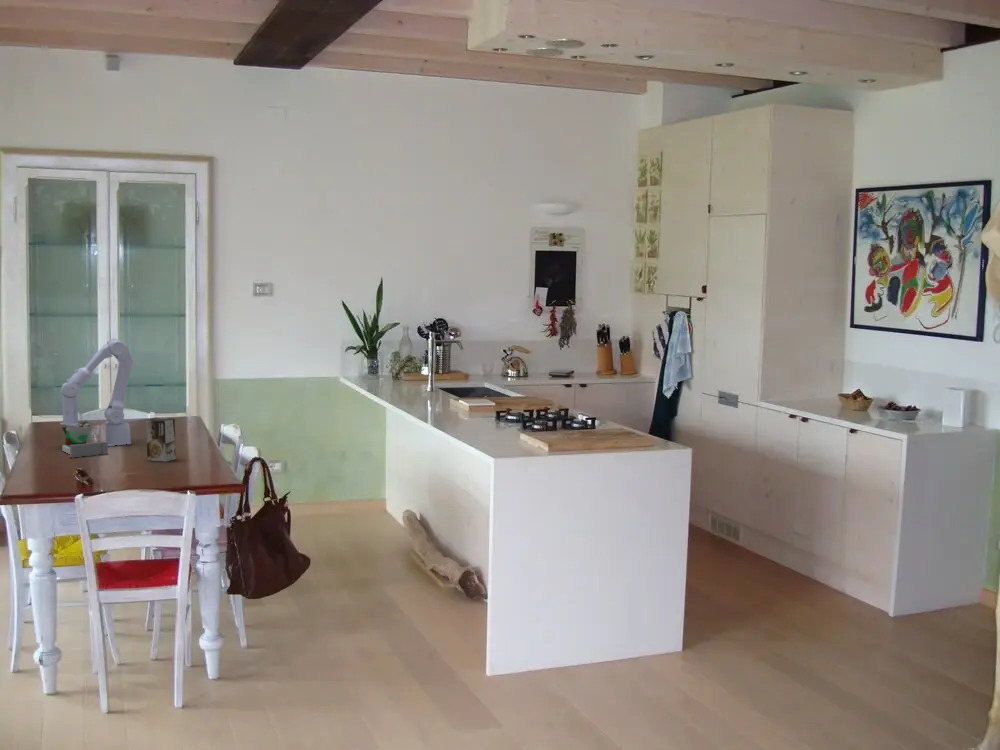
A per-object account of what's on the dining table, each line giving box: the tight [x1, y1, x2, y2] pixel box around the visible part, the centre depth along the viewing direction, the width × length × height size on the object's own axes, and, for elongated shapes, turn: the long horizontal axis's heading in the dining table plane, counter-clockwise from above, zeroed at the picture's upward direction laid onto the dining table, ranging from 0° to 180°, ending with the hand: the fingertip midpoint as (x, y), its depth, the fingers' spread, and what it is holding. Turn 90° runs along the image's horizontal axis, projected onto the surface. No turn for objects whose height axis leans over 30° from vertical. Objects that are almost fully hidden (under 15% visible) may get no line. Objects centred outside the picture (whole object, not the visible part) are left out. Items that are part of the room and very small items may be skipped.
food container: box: [64, 420, 92, 447], centre depth 424 cm, size 12×6×10 cm, turn 165°
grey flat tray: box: [61, 440, 109, 458], centre depth 416 cm, size 14×16×5 cm
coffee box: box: [145, 417, 176, 462], centre depth 404 cm, size 9×6×16 cm
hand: (71, 444), depth 427 cm, fingers closed
